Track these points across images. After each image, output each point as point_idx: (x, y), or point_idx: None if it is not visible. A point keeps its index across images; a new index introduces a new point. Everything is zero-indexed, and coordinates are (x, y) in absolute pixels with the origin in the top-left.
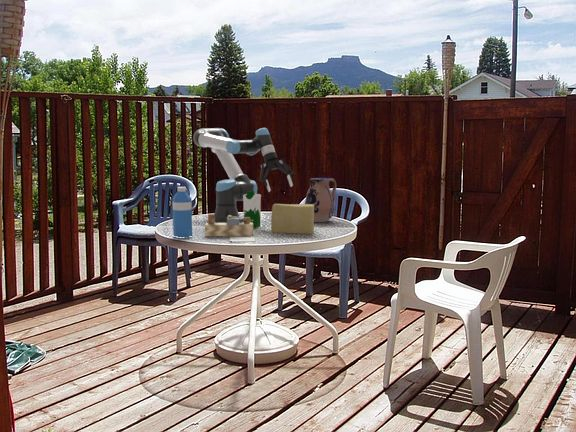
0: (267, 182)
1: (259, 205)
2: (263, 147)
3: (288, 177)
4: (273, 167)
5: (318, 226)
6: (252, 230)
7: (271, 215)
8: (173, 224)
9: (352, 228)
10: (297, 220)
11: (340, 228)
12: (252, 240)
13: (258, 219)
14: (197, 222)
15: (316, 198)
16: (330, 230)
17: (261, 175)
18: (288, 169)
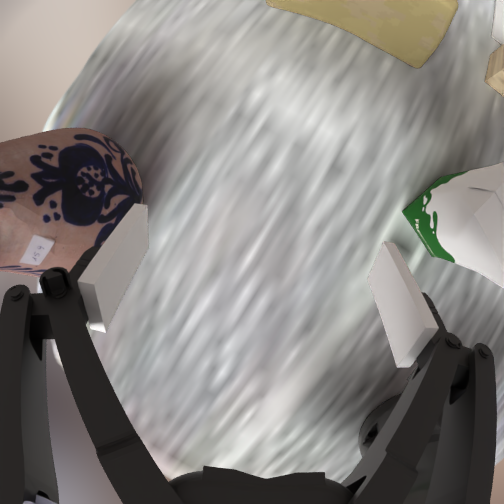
0: (420, 300)
1: (465, 179)
2: None
3: (110, 282)
4: (289, 495)
5: (179, 86)
6: (500, 49)
7: (445, 33)
8: None
9: (117, 21)
10: None
11: (145, 28)
12: (501, 7)
13: (440, 179)
14: (499, 408)
15: (71, 144)
16: (199, 4)
17: (489, 385)
18: (28, 353)
